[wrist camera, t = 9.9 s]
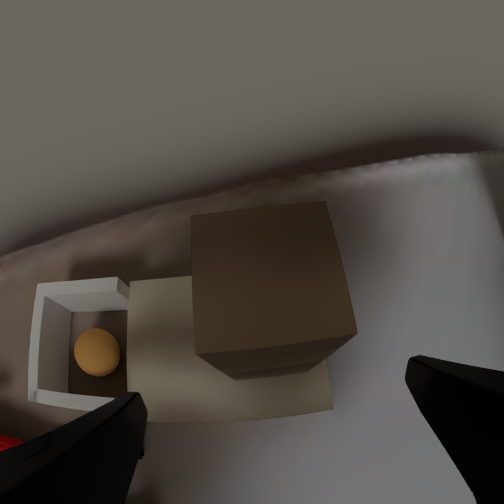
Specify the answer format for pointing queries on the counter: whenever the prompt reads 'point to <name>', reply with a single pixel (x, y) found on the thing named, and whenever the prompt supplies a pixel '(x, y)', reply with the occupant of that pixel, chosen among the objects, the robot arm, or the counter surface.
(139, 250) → the counter surface
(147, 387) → the board
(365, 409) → the counter surface
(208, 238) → the brown wooden block
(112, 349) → the ball
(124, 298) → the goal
